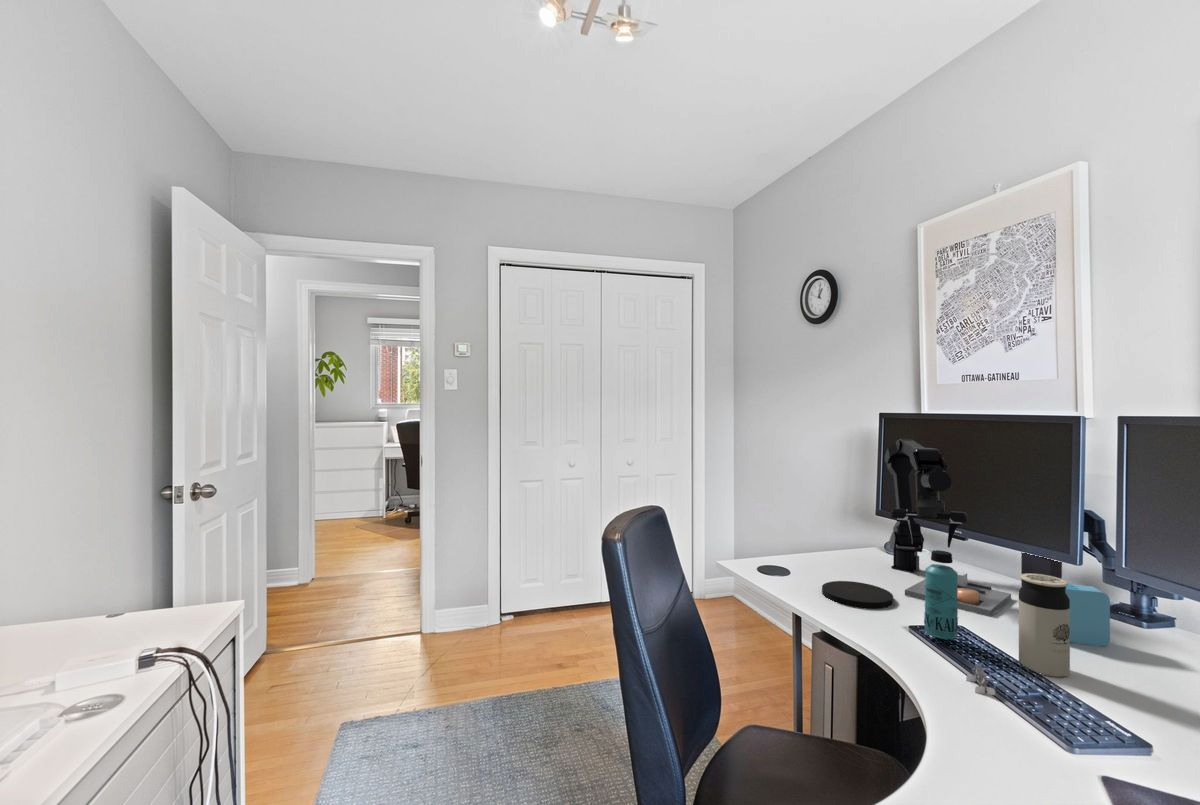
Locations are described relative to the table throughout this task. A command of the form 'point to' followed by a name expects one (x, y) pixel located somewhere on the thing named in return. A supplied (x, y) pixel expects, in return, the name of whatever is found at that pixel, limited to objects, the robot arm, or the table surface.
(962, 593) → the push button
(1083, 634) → the data package
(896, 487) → the robot arm
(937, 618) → the beverage bottle
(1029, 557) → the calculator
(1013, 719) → the table surface
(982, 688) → the grey lobed figure
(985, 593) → the grey railed board
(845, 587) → the wireless charger
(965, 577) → the white cube
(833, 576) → the table surface
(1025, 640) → the travel mug
